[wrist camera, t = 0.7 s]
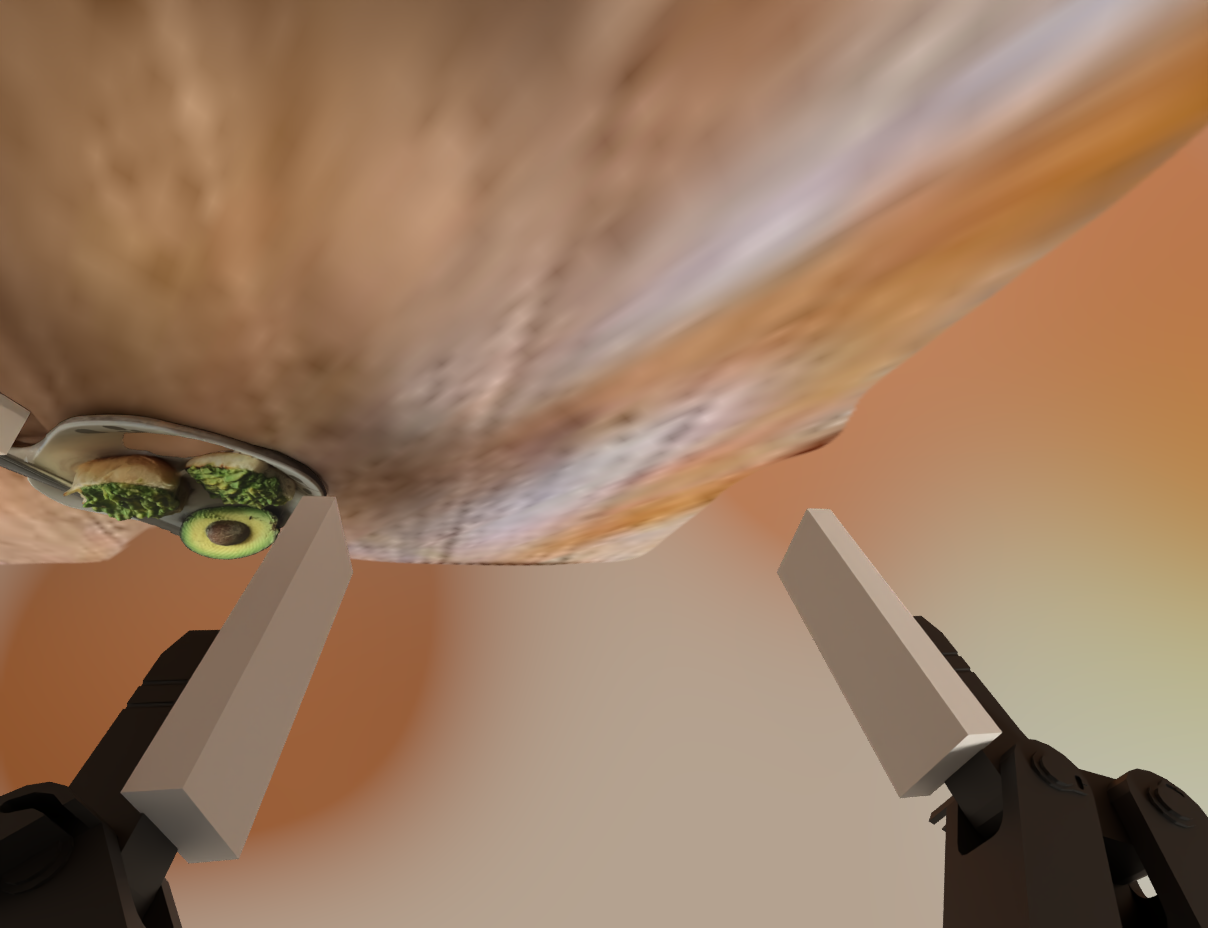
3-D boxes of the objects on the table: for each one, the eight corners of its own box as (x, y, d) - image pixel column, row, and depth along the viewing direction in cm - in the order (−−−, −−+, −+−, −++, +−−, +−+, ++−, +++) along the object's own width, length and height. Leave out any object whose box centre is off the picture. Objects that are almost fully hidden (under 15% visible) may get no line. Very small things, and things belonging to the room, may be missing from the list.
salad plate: (-54, 468, 34) (-91, 528, 32) (21, 351, 27) (-22, 419, 24) (249, 534, 49) (238, 578, 47) (355, 471, 41) (347, 521, 39)
